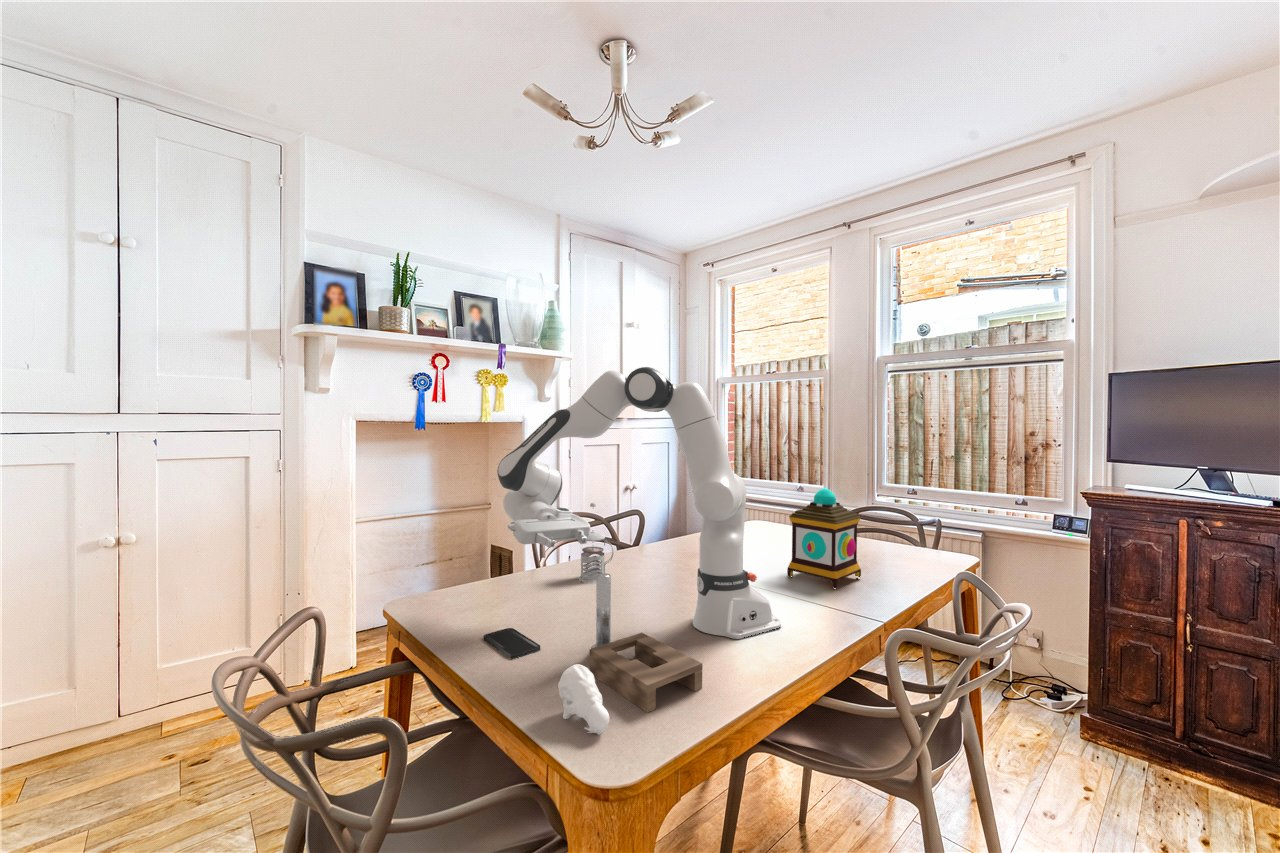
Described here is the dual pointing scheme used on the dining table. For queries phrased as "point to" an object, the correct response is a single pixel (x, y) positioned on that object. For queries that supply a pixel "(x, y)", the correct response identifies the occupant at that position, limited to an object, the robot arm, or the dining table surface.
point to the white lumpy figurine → (583, 698)
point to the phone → (511, 643)
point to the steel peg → (603, 609)
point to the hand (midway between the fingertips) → (568, 542)
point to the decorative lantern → (824, 539)
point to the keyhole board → (643, 668)
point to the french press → (593, 558)
